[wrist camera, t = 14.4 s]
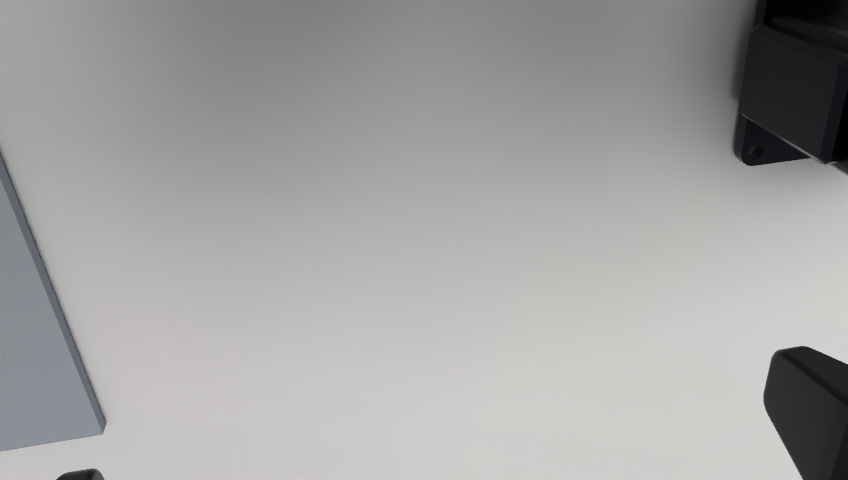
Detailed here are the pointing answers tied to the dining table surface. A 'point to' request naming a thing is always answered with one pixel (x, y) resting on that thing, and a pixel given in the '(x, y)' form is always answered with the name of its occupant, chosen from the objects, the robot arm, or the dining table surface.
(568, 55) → the dining table surface
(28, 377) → the mat
